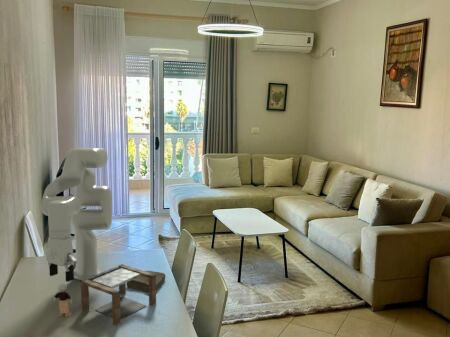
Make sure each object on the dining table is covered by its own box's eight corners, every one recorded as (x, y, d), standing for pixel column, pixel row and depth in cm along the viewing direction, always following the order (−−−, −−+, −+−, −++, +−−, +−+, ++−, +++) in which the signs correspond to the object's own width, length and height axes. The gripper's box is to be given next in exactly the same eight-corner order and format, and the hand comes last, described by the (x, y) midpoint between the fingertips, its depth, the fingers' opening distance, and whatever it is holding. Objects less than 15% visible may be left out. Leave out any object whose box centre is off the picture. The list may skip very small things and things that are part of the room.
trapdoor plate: (87, 281, 167) (87, 278, 167) (117, 269, 180) (117, 266, 180) (111, 289, 160) (110, 286, 160) (139, 276, 172) (139, 273, 172)
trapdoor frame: (81, 311, 167) (80, 280, 165) (122, 292, 184) (121, 264, 182) (116, 326, 156) (115, 293, 154) (156, 304, 173) (155, 274, 172)
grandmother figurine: (75, 312, 166) (74, 281, 164) (71, 317, 162) (70, 285, 160) (56, 311, 166) (54, 280, 165) (51, 316, 163) (50, 284, 161)
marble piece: (154, 295, 183) (153, 285, 182) (122, 291, 186) (121, 282, 185) (168, 279, 199) (167, 271, 198) (138, 276, 202) (138, 268, 201)
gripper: (37, 232, 161) (39, 275, 163) (65, 239, 152) (67, 286, 154) (54, 227, 167) (56, 270, 169) (83, 235, 158) (84, 279, 160)
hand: (61, 277), depth 162 cm, fingers open, 9 cm apart
